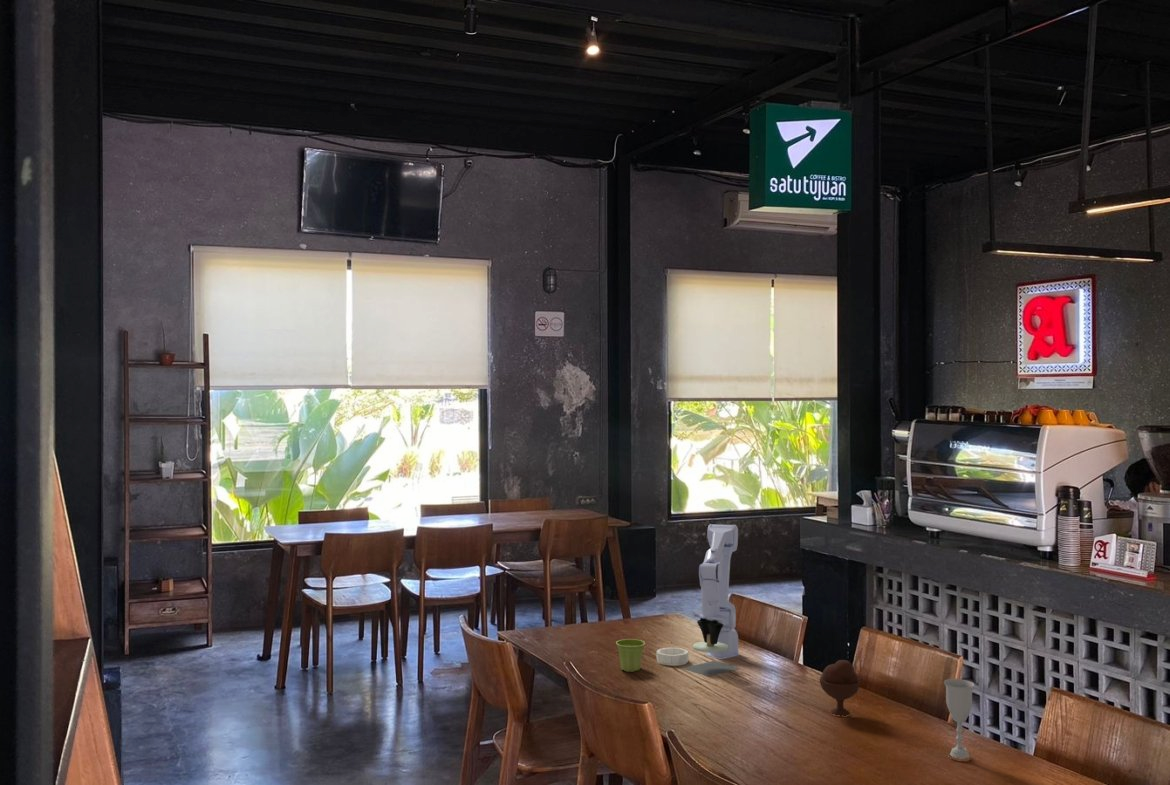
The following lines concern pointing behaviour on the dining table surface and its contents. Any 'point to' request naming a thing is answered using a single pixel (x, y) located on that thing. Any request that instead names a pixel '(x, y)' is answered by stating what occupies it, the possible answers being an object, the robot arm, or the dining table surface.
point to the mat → (710, 668)
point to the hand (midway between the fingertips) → (710, 643)
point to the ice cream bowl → (840, 684)
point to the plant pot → (630, 654)
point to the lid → (710, 646)
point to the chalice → (959, 709)
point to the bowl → (672, 656)
